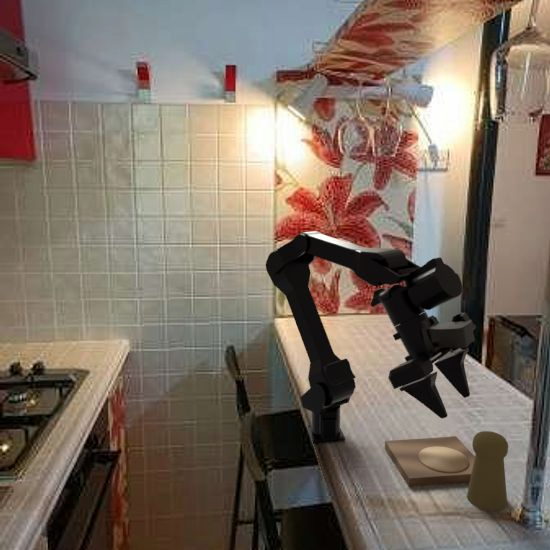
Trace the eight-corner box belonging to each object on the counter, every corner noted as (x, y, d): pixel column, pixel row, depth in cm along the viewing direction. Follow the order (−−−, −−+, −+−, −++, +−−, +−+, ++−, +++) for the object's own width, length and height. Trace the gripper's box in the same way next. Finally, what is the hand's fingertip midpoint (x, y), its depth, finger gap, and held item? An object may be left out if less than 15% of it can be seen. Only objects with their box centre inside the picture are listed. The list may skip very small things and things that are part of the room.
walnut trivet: (384, 448, 102) (385, 439, 102) (455, 443, 104) (456, 434, 103) (408, 486, 90) (409, 476, 89) (489, 480, 91) (489, 470, 91)
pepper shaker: (497, 488, 89) (501, 425, 87) (514, 510, 83) (519, 444, 81) (460, 489, 89) (464, 426, 87) (475, 511, 83) (479, 445, 81)
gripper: (424, 314, 77) (479, 415, 75) (472, 288, 91) (520, 372, 88) (367, 341, 84) (415, 434, 82) (420, 313, 98) (462, 392, 96)
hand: (456, 406), depth 87 cm, fingers open, 9 cm apart
